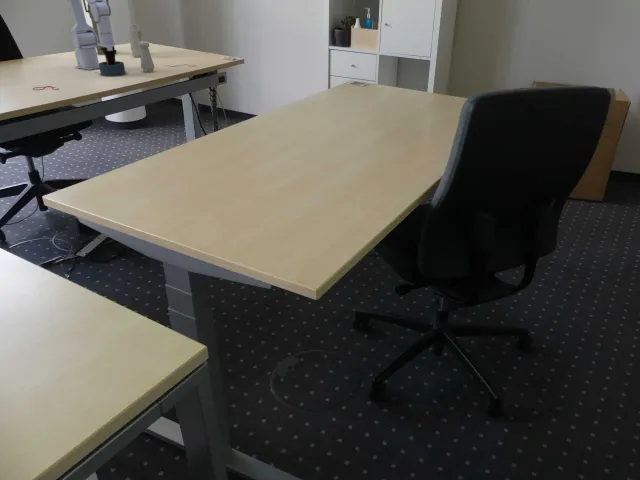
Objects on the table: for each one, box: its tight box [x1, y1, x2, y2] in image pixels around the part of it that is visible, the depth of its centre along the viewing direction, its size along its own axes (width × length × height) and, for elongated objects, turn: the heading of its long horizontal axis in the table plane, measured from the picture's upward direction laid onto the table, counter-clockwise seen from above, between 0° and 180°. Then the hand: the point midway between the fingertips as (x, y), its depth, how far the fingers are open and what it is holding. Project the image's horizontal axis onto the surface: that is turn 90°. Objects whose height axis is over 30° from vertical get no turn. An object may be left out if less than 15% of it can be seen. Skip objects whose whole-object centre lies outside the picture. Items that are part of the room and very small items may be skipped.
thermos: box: [82, 0, 115, 56], centre depth 277 cm, size 9×12×35 cm
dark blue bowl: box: [99, 60, 126, 77], centre depth 241 cm, size 10×10×5 cm
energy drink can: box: [127, 24, 143, 58], centre depth 277 cm, size 6×6×15 cm
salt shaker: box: [139, 40, 155, 73], centre depth 246 cm, size 6×6×13 cm
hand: (111, 65), depth 240 cm, fingers closed on shaker, 4 cm apart
